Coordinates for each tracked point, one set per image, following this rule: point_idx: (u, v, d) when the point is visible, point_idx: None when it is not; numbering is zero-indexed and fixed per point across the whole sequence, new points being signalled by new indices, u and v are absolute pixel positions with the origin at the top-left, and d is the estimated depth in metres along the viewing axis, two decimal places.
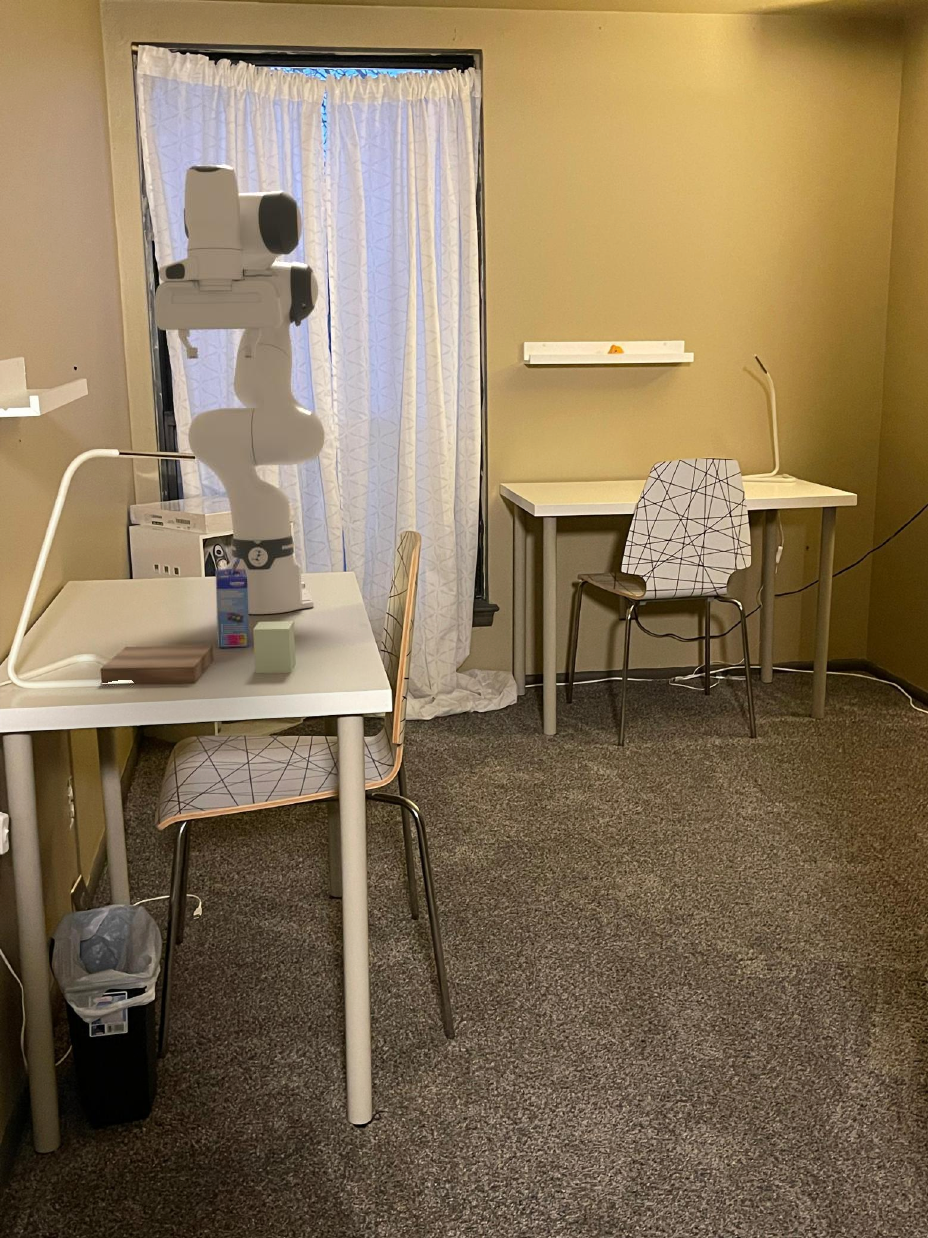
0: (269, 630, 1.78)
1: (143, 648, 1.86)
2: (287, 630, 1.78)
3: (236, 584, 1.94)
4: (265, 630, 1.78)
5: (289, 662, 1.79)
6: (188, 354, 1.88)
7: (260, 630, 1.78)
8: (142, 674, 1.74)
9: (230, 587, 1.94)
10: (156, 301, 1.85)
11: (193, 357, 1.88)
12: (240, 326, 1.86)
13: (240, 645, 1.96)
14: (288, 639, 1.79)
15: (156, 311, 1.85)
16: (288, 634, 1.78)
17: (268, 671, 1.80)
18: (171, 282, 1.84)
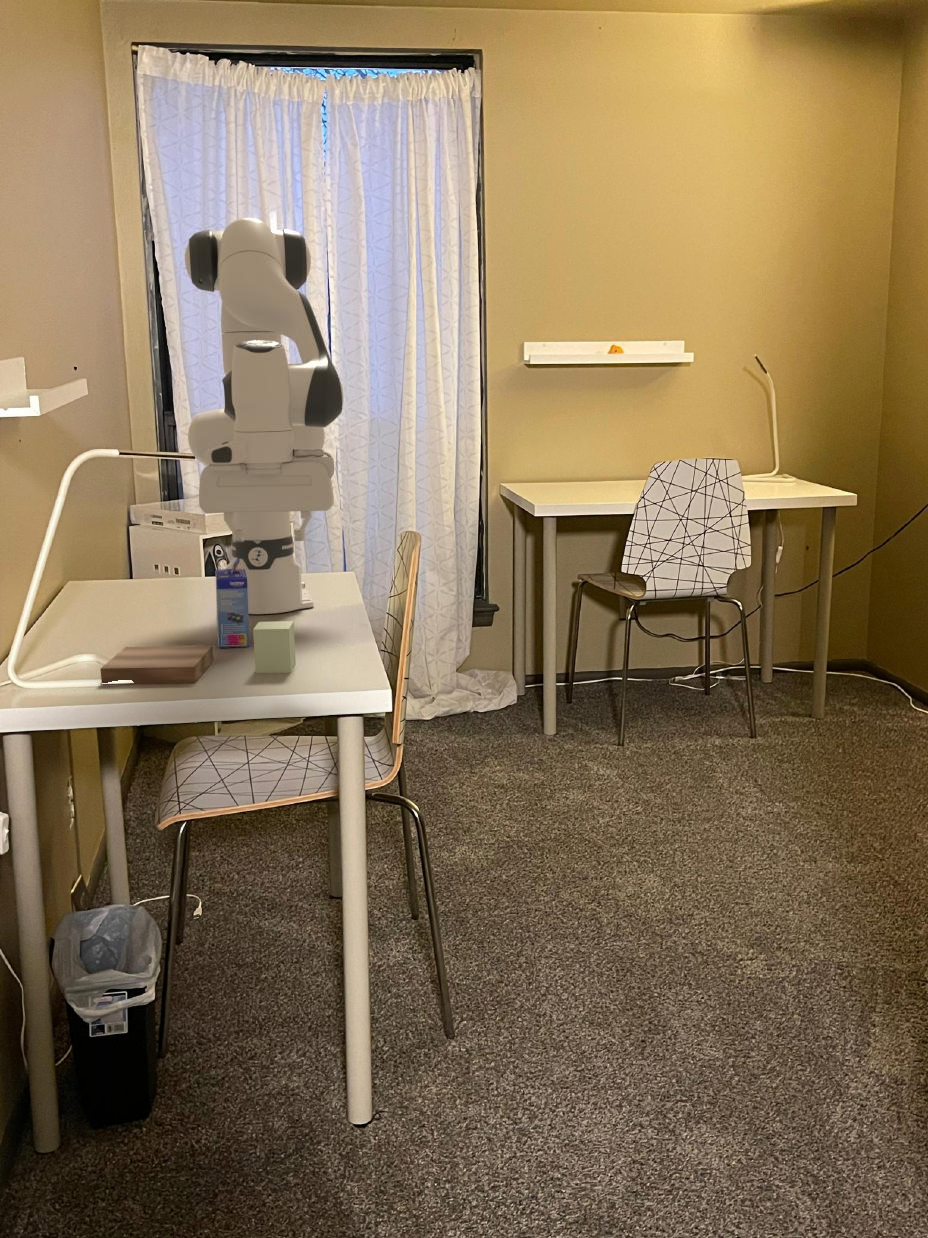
0: (269, 630, 1.78)
1: (143, 648, 1.86)
2: (287, 630, 1.78)
3: (236, 584, 1.94)
4: (265, 630, 1.78)
5: (289, 662, 1.79)
6: (234, 538, 1.77)
7: (260, 630, 1.78)
8: (142, 674, 1.74)
9: (230, 587, 1.94)
10: (201, 485, 1.74)
11: (239, 541, 1.77)
12: (290, 510, 1.75)
13: (240, 645, 1.96)
14: (288, 639, 1.79)
15: (201, 495, 1.74)
16: (288, 634, 1.78)
17: (268, 671, 1.80)
18: (217, 465, 1.73)
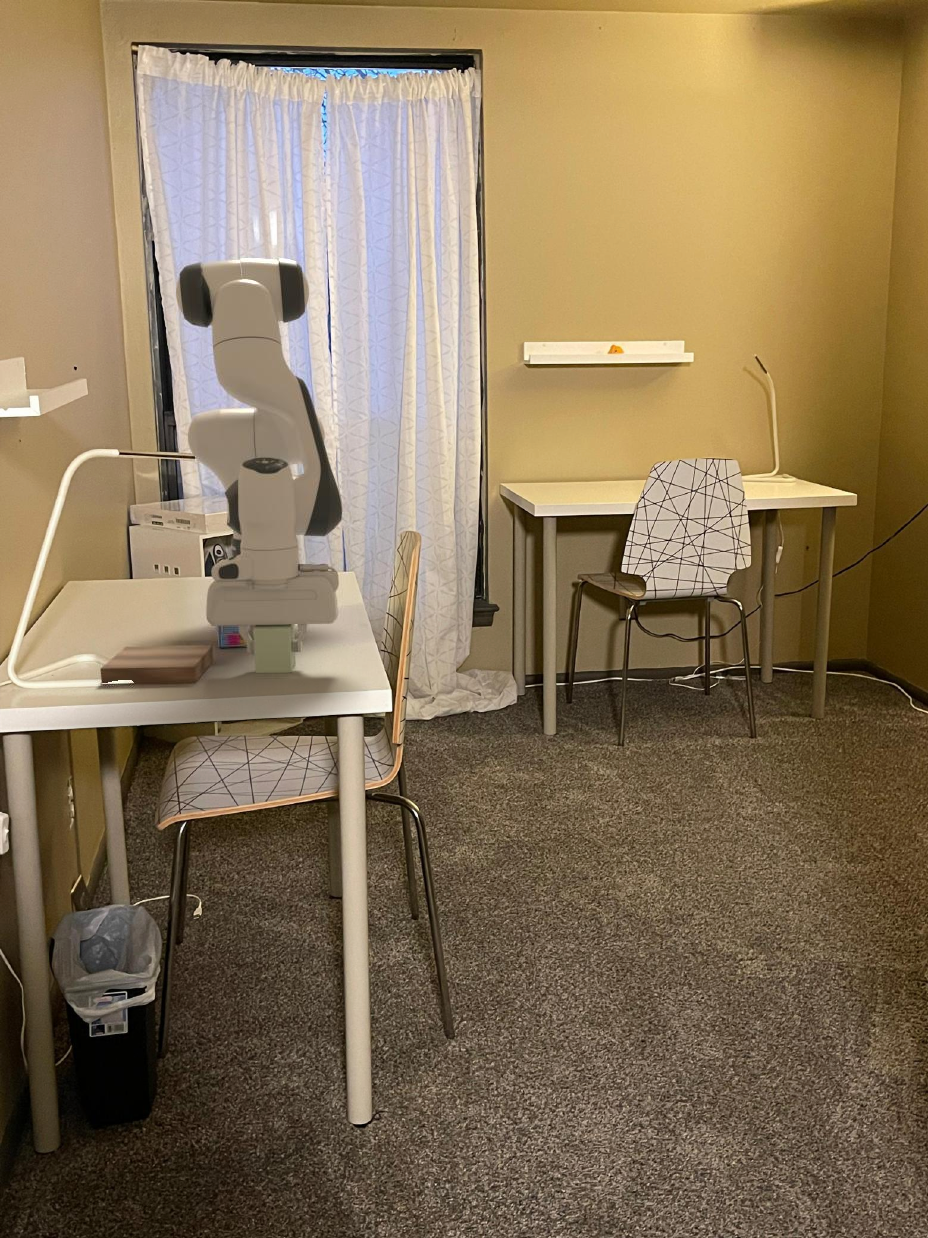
0: (269, 630, 1.78)
1: (143, 648, 1.86)
2: (287, 630, 1.78)
3: None
4: (265, 630, 1.78)
5: (289, 662, 1.79)
6: (249, 649, 1.81)
7: (260, 630, 1.78)
8: (142, 674, 1.74)
9: None
10: (208, 599, 1.78)
11: None
12: (295, 623, 1.79)
13: (240, 645, 1.96)
14: (288, 639, 1.79)
15: (208, 609, 1.78)
16: (288, 634, 1.78)
17: (268, 671, 1.80)
18: (224, 581, 1.77)
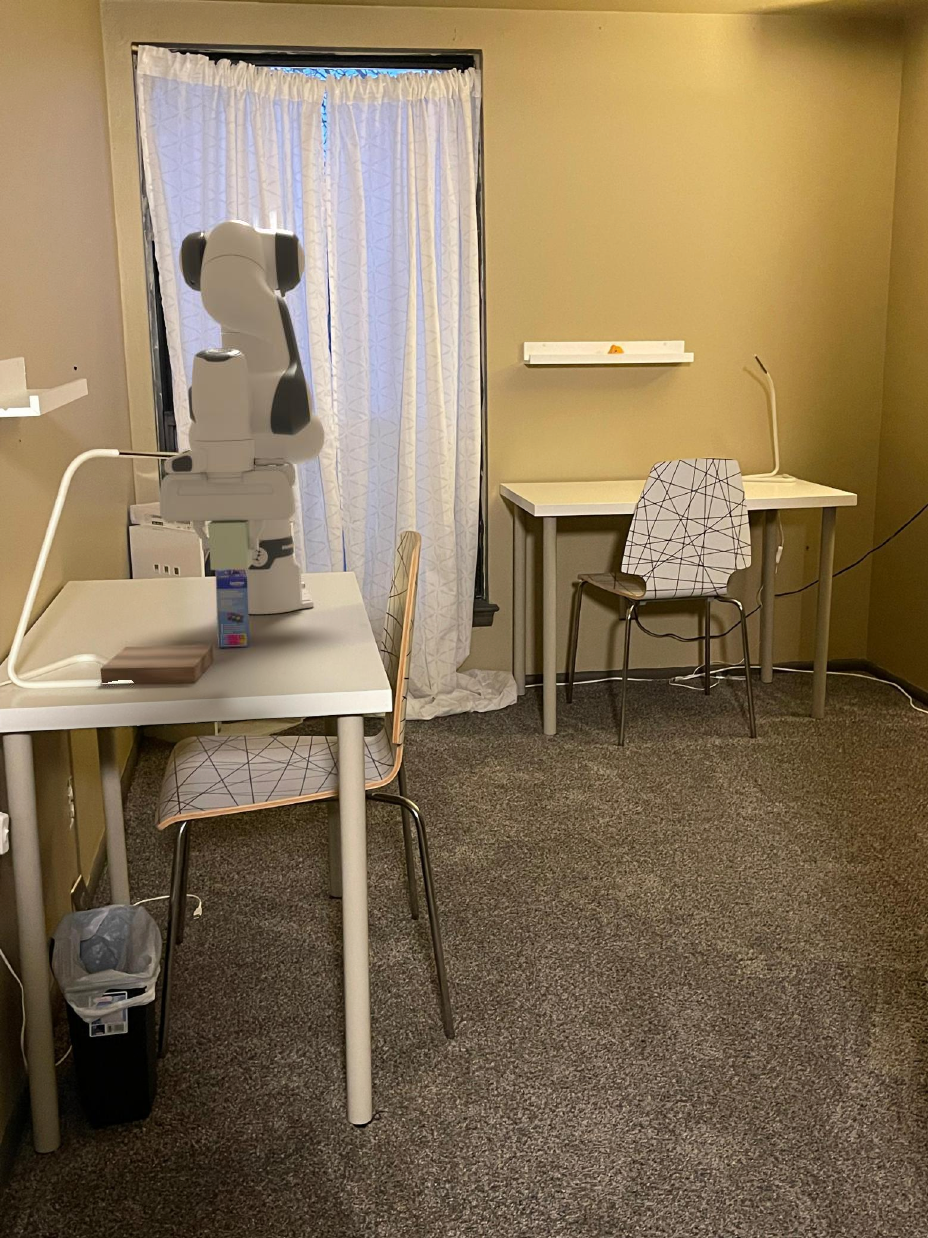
0: (224, 525, 1.74)
1: (143, 648, 1.86)
2: (243, 525, 1.75)
3: (236, 584, 1.94)
4: (220, 525, 1.74)
5: (245, 558, 1.76)
6: (203, 546, 1.77)
7: (215, 525, 1.74)
8: (142, 674, 1.74)
9: (230, 587, 1.94)
10: (161, 493, 1.74)
11: (209, 549, 1.77)
12: (251, 518, 1.75)
13: (240, 645, 1.96)
14: (244, 534, 1.75)
15: (161, 504, 1.74)
16: (244, 529, 1.75)
17: (224, 567, 1.76)
18: (177, 474, 1.73)
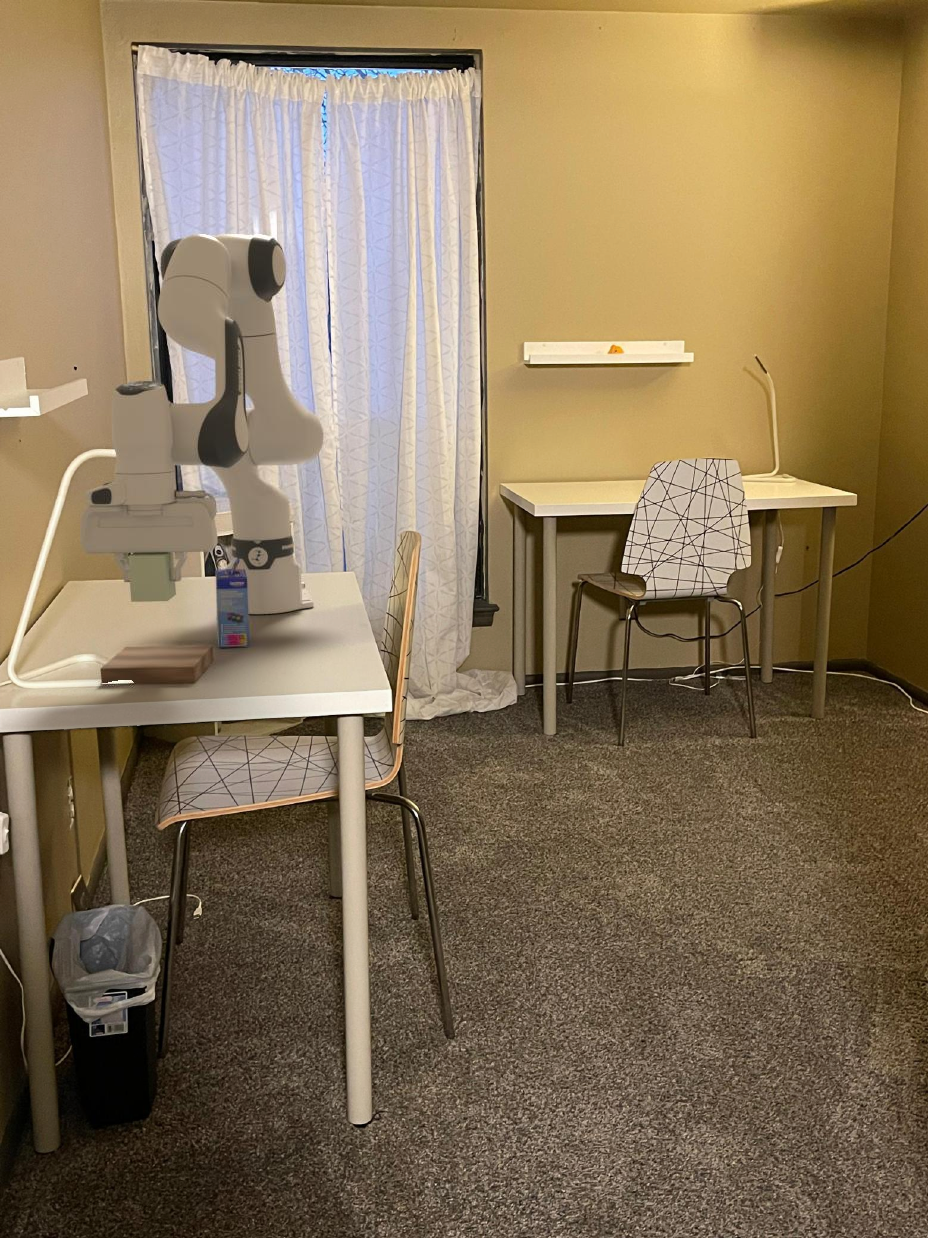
0: (144, 557, 1.74)
1: (143, 648, 1.86)
2: (163, 557, 1.74)
3: (236, 584, 1.94)
4: (140, 557, 1.74)
5: (165, 590, 1.76)
6: (125, 578, 1.77)
7: (135, 557, 1.74)
8: (142, 674, 1.74)
9: (230, 587, 1.94)
10: (82, 526, 1.74)
11: None
12: (171, 550, 1.75)
13: (240, 645, 1.96)
14: (164, 566, 1.75)
15: (82, 536, 1.74)
16: (164, 561, 1.75)
17: (144, 599, 1.76)
18: (97, 507, 1.73)
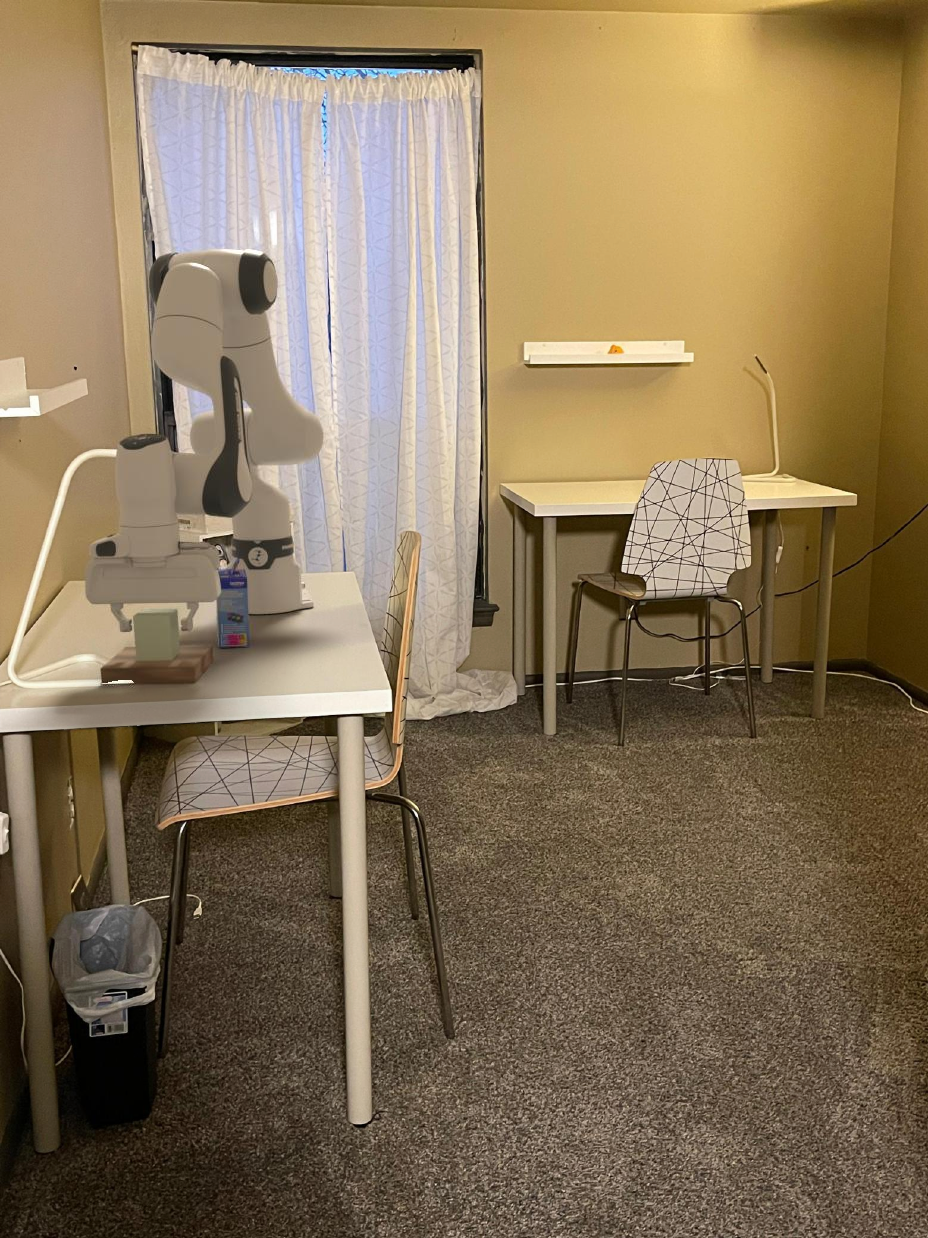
0: (149, 617, 1.77)
1: None
2: (167, 617, 1.77)
3: (236, 584, 1.94)
4: (145, 617, 1.77)
5: (170, 649, 1.78)
6: (121, 628, 1.79)
7: (140, 617, 1.77)
8: (142, 674, 1.74)
9: (230, 587, 1.94)
10: (86, 577, 1.76)
11: (127, 631, 1.79)
12: (175, 601, 1.77)
13: (240, 645, 1.96)
14: (168, 626, 1.77)
15: (87, 587, 1.76)
16: (168, 621, 1.77)
17: (149, 658, 1.78)
18: (102, 559, 1.75)
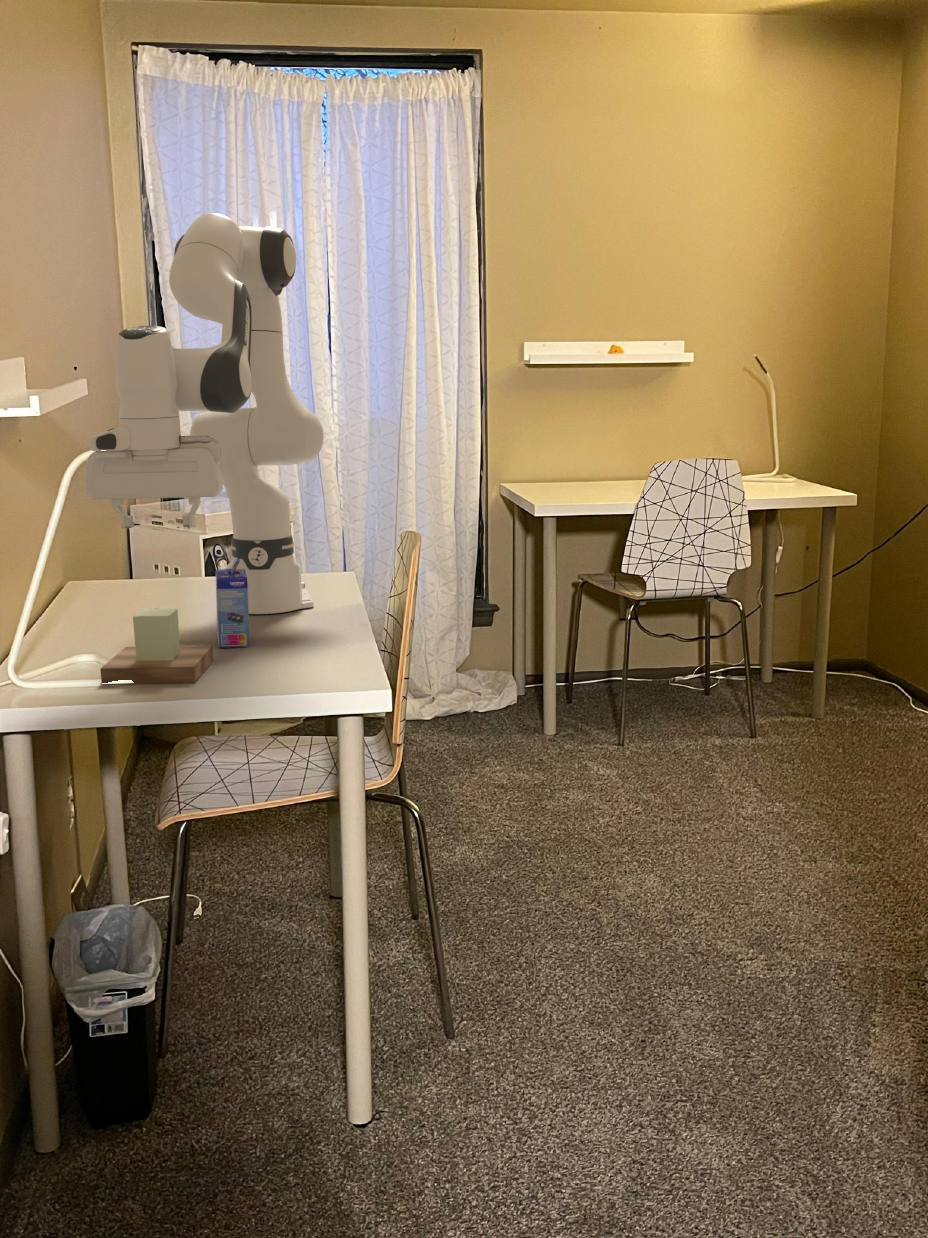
0: (149, 617, 1.77)
1: None
2: (167, 617, 1.77)
3: (236, 584, 1.94)
4: (145, 617, 1.77)
5: (170, 649, 1.78)
6: (123, 524, 1.77)
7: (140, 617, 1.77)
8: (142, 674, 1.74)
9: (230, 587, 1.94)
10: (87, 471, 1.74)
11: (128, 527, 1.78)
12: (177, 496, 1.76)
13: (240, 645, 1.96)
14: (168, 626, 1.77)
15: (87, 481, 1.75)
16: (168, 621, 1.77)
17: (149, 658, 1.78)
18: (102, 452, 1.73)
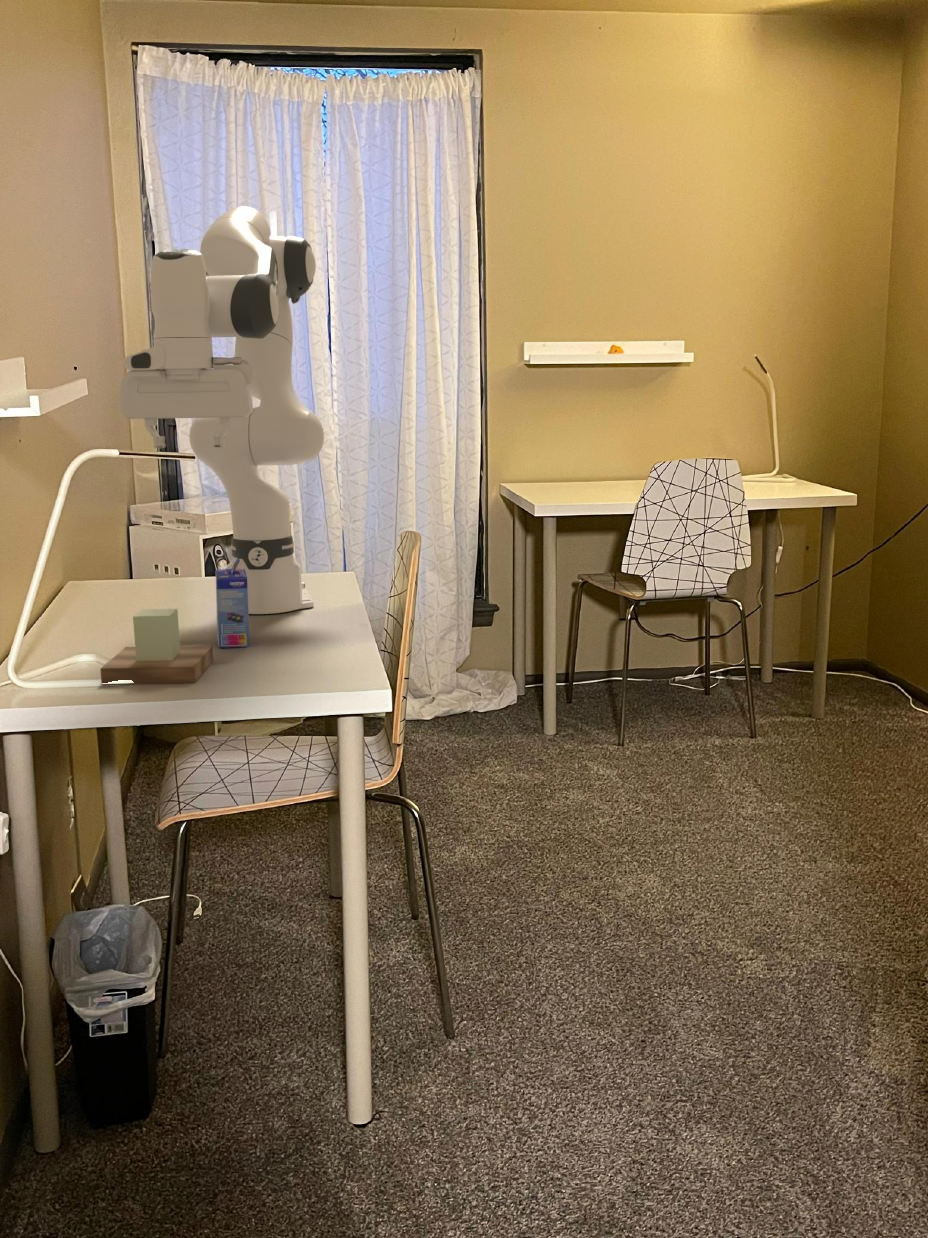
0: (149, 617, 1.77)
1: None
2: (167, 617, 1.77)
3: (236, 584, 1.94)
4: (145, 617, 1.77)
5: (170, 649, 1.78)
6: (155, 444, 1.82)
7: (140, 617, 1.77)
8: (142, 674, 1.74)
9: (230, 587, 1.94)
10: (121, 390, 1.79)
11: (160, 447, 1.82)
12: (208, 416, 1.80)
13: (240, 645, 1.96)
14: (168, 626, 1.77)
15: (121, 401, 1.79)
16: (168, 621, 1.77)
17: (149, 658, 1.78)
18: (137, 371, 1.78)
